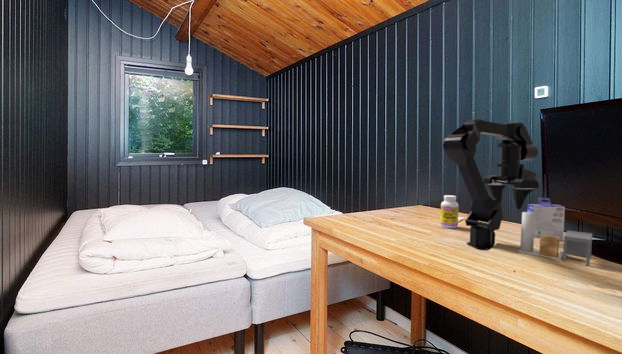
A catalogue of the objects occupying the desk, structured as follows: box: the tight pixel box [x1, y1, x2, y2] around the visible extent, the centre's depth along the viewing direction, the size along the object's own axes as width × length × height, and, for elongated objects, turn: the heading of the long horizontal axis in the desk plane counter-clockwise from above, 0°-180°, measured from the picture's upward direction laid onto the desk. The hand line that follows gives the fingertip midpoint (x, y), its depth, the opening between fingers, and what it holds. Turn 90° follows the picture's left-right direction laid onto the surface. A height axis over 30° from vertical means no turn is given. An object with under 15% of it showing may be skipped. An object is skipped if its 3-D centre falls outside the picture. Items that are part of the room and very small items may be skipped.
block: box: [538, 235, 560, 259], centre depth 92 cm, size 4×4×5 cm
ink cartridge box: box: [526, 197, 566, 242], centre depth 113 cm, size 10×6×14 cm, turn 79°
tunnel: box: [562, 229, 594, 267], centre depth 88 cm, size 5×9×8 cm, turn 137°
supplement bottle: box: [439, 194, 460, 229], centre depth 133 cm, size 7×7×13 cm
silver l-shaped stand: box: [516, 211, 563, 260], centre depth 94 cm, size 10×6×12 cm, turn 47°
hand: (508, 207), depth 109 cm, fingers open, 9 cm apart
